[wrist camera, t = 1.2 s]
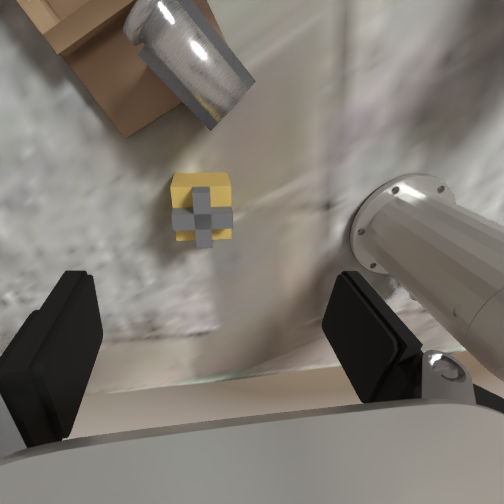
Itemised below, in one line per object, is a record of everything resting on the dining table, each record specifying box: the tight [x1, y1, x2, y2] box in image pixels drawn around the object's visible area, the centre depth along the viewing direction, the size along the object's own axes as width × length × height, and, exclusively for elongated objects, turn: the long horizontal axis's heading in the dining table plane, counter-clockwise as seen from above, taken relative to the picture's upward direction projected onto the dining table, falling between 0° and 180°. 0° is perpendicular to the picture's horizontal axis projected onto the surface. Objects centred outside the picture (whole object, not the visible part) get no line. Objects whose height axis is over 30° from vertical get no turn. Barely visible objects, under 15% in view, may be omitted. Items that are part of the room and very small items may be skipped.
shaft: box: [123, 0, 256, 131], centre depth 19 cm, size 7×4×9 cm, turn 43°
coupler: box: [170, 173, 233, 249], centre depth 26 cm, size 5×5×6 cm
